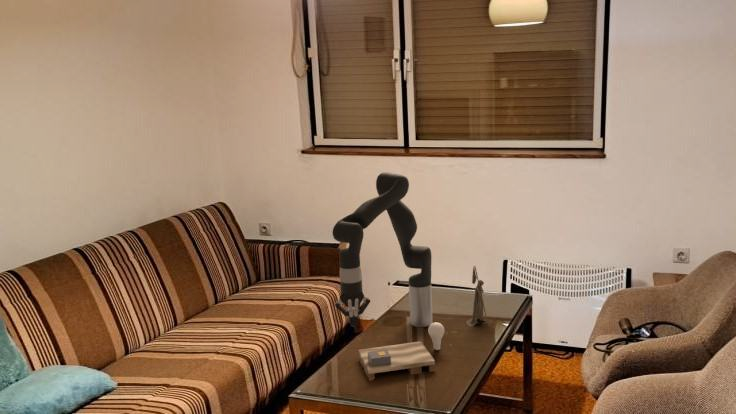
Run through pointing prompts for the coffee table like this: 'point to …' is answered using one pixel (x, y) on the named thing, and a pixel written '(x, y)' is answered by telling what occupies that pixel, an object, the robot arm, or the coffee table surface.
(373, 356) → the grey box
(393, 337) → the coffee table surface
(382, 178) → the robot arm
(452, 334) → the coffee table surface
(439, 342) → the lightbulb
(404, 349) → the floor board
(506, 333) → the coffee table surface
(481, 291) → the wizard figurine
